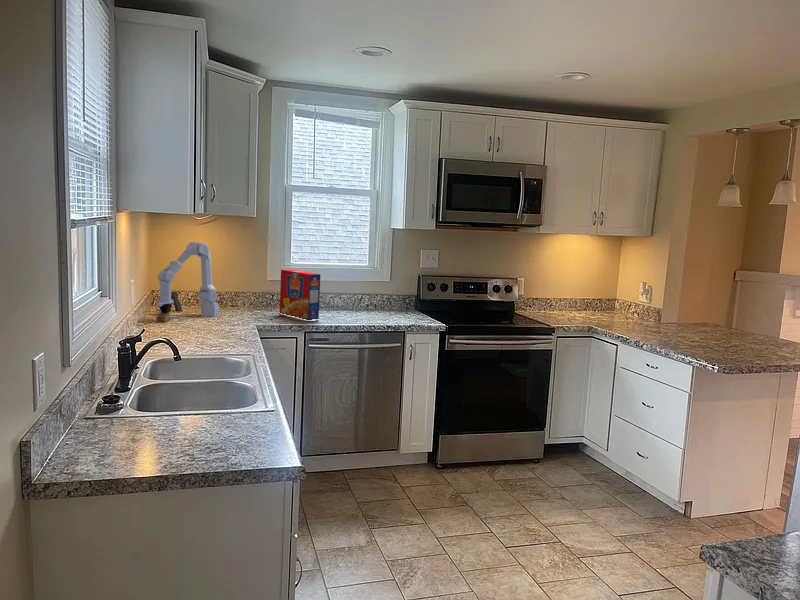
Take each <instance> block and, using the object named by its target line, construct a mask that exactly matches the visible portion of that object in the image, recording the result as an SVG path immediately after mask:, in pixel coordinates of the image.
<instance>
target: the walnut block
mask: <svg viewBox="0 0 800 600" xmlns="http://www.w3.org/2000/svg"><path fill="white" fill-rule="evenodd" d="M170 316H171V315H170V312H169V313H158V314H157V315H156V318H155V319H156V323H168V322H170V321H171V320H170Z"/></svg>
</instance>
